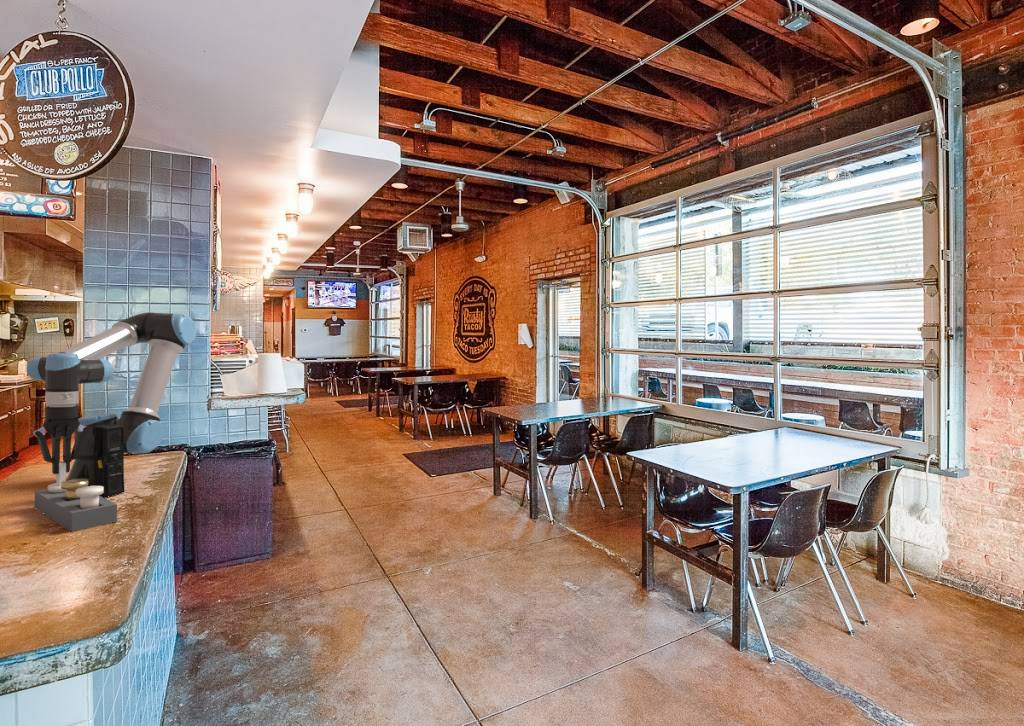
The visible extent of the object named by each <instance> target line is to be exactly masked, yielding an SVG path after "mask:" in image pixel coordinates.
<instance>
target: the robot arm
mask: <svg viewBox="0 0 1024 726" xmlns="http://www.w3.org/2000/svg"><path fill="white" fill-rule="evenodd" d="M195 325H196V324H195V322H194V321H193V319H192V318H191V317H190V316H189V315H187V314H184V313H177V312H176V313H175V312H174V313H170V312H169V313H168V312H167V313H166V312H142V313H139V314H135V315H132V316H129V317H127V318H124V319H122V320H119V321H117V322H115V323H114V324H112V326H111V327H110V329H107V330H105V331H103V332H101V333H98V334H96V335H94V336H92V337H89V338H87V339H85V340H83V341H81V342H79V343H77V344H74V345H72V346H70V347H68V348H66V349H64V350H61V351H59V352H54V353H53V352H52V353H48V354H47V355H46V356H36V357H33V358H31V359H30V360H29V361H28V362H27V364H26V373H27V375H28V377H30V378H31V379H32V380H35V381H39V382H41V381H42V382H45V393H44V394H45V395H44V396H45V397H44V399H45V401H44V402H45V405H46V407H45V409H44V422H43V424H42V427H41V428H38V429H34V430H33V431H32V434H33V436H35V437H36V439H37V442H38V445H39V449H40V452H41V455H42V459H43V460H44V461H45V462H46V463H51V464H52V465H51V466H52V467H51V473H52V474H54V475H55V476H56V477H55V480H56V481H55V483H56V484H58V485H61V482H63V481H67V480H72V479H88V485H90V486H93V485H94V457H93V455H94V435H93V427H94V426H101V425H108V424H114V422H115V417H116V422H117V424H123V425H124V454H134V455H137V454H148V453H151V452H152V451H153V450H155V449H156V448H158V447H159V445H161V444H160V443H161V442H162V440H163V437H164V434H165V433H164V426H163V424H162V423H161V417H160V415H158V412H159V409H160V407H161V403H162V400H163V398H164V394H165V392H166V389H167V386H168V384H169V380H170V378H171V377H170V376H171V375H172V371H173V368H174V365H175V362H176V360H177V357H178V355H179V354H181V353H183V352H184V351H185V347H186V346H189V345H192V344H193V343H194V342H195V340H196V336H197V328H196V326H195ZM142 343H144V344H145V343H146V344H148V346H149V347H150V350H149V352H148V355H147V358H146V361H145V364H144V366H143V369H142V372H141V374H140V376H139V377H140V378H139V380H138V383H137V385H136V388H135V391H134V394H133V396H132V399H131V401H130V403H129V404H130V405H129V407H128V408H127V409H124V410H123V411H121V415H120V416H119V418H118V414H117V413H106V414H105V413H104V414H99V415H98V414H97V415H90V416H83V417H80V418H79V406H78V404H79V395H80V394H79V389H80V385H82V384H83V385H85V384H95V383H96V384H100V383H104V382H108V381H109V380H110V379H112V377H113V375H114V372H115V371H114V366H113V364H112V363H111V361H110V360H107V359H104V358H105V357H107V356H109V355H110V354H112V353H115V352H116V351H118V350H121V349H123V348H124V347H132V346H134V345H137V344H142ZM45 431H46V432H47V433H48V434H49V435H50V436H51V452H50V448H49V445H48V442H47V439H46V437H45V435H46V432H45ZM73 434H74V443H73V445H72V439H73V437H72V436H73ZM61 438H62V439H61ZM61 440H62V460H63V461H60V460H61V459H60V458H61ZM73 460H74V461H73ZM72 461H73V464H72V466H71V462H72ZM67 473H68V475H67ZM66 477H67V478H66Z"/></svg>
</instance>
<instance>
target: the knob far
mask: <svg viewBox="0 0 1024 726" xmlns="http://www.w3.org/2000/svg"><path fill="white" fill-rule="evenodd" d="M103 493H104V487H103V486H93V485H90V486H87V487H82V488H78V489H76V497H80V509H82V510H83V509H88V508H93V507H98V506H99V495H101V494H103Z"/></svg>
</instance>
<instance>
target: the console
mask: <svg viewBox="0 0 1024 726" xmlns="http://www.w3.org/2000/svg"><path fill="white" fill-rule="evenodd" d="M65 500H66V492H61V493H55V494H53V493H51V492H48V488H47V489H42V490H35V491H34V509H35V508H36V509H35V510H37V511H38V510H39V511H38V512H40V513H41V512H42V513H41V514H43V513H44V514H45V516H46V515H47V516H46V517H48V518H49V517H50V518H49V519H51V520H53V521H54V522H55V523H58V524H59V525H61V526H62V527H63V528H65V529H67V530H68V531H70V532H71V531H72V532H73V531H74V532H78V531H82V529H83V530H86V529H91V528H92V529H93V528H95V527H96V526H97V527H100V525H101V526H105V525H104V524H106V525H110V524H113V523H112V522H115V523H118V504H117V503H115V502H114V501H112V500H109V499H107V498H103V497H101V496H99V506H98V507H93V508H88V509H83V510H82V509H80V499H78V500H72V501H65ZM44 514H43V515H44ZM109 523H110V524H109ZM77 530H78V531H77Z"/></svg>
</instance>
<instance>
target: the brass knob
mask: <svg viewBox="0 0 1024 726" xmlns="http://www.w3.org/2000/svg"><path fill="white" fill-rule="evenodd" d="M87 486H88V479H72V480H68V479H66V481H63V482H61V489H65V490H66V501H72V500H78V499H80V497H76V489H78V488H82V487H87Z"/></svg>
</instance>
